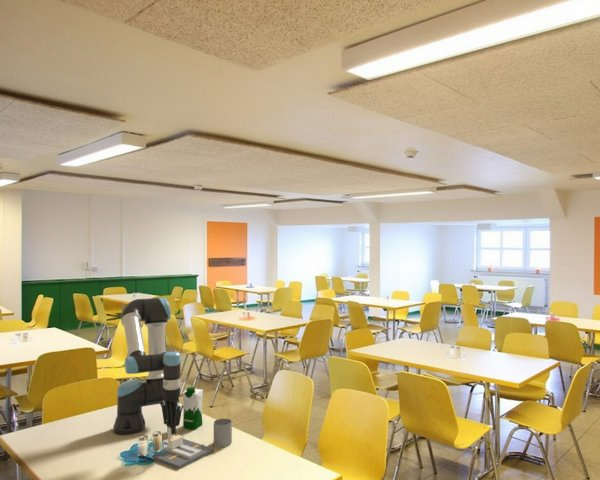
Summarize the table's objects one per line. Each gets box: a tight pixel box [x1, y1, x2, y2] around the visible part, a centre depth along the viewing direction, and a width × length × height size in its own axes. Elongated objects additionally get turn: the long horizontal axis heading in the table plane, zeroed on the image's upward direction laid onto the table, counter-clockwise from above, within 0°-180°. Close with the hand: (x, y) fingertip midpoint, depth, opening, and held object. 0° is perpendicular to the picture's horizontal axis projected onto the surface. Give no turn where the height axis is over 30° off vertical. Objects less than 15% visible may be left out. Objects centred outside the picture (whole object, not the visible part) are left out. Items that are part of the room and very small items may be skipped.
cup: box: [213, 418, 233, 448], centre depth 217 cm, size 8×8×10 cm
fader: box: [167, 434, 184, 449], centre depth 207 cm, size 3×6×5 cm, turn 146°
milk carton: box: [182, 386, 204, 431], centre depth 238 cm, size 9×9×20 cm
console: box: [152, 438, 215, 470], centre depth 206 cm, size 24×20×3 cm
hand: (171, 441), depth 208 cm, fingers closed
